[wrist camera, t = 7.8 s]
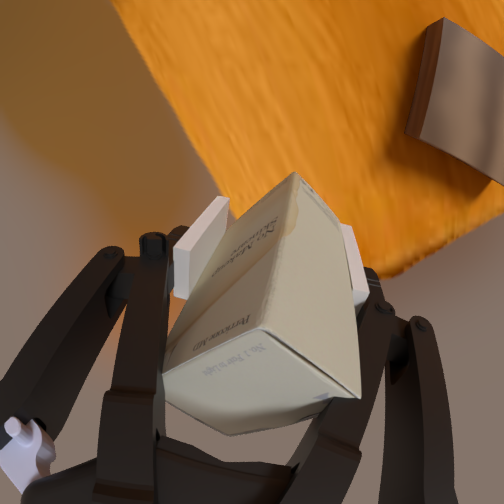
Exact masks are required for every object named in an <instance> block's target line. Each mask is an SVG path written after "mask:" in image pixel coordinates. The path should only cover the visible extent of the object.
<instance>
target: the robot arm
mask: <svg viewBox="0 0 504 504" xmlns="http://www.w3.org/2000/svg"><path fill="white" fill-rule="evenodd" d="M229 200H230V198H227V197H222V196H217V197H216V199H215V200H214V201H213V202H212V203H211V204H210V205H209V206H208V208H207V209H206V210H205V211H204V212H203V213H202V214H201V215H200V217H199V218H198V219H197V220H196V221H195V223H193V225H192V226H191V227H187V226H182V225H181V226H178V227H176V228H174V229H173V230H172V231H171V232H170V233H169V234H168V235H165V234H163V233H160V232H150V233H146V234H144V235H142V236H141V237H140V238H139V244H140V257H130V256H129V257H128V256H124V250H123V249H122V248H120V247H117V246H108V247H105V248H103V249H101V250H100V251H99V252H98V253H97V254H96V255H95V256H94V257H93V258H92V259H91V260H90V262H89V263H88V264H87V265H86V266H85V267H84V268H83V270H82V271H81V272H80V273H79V274H78V275H77V277H76V278H75V279H74V280H73V281H72V283H71V284H70V285H69V286H68V287H67V289H66V290H65V291H64V292H63V294H62V295H61V296H60V297H59V298H58V300H57V301H56V302H55V304H54V305H53V306H52V307H51V309H50V310H49V311H48V313H47V314H46V315H45V317H44V318H43V319H42V321H41V322H40V323H39V325H38V326H37V327H36V329H35V330H34V332H33V333H32V334H31V336H30V337H29V339H28V340H27V342H26V343H25V345H24V346H23V348H22V349H21V351H20V352H19V354H18V355H17V357H16V358H15V360H14V362H13V363H12V365H11V366H10V368H9V370H8V371H7V373H6V374H5V376H4V378H3V379H2V380H1V381H0V466H1V468H2V469H3V471H4V472H5V473H6V475H7V476H8V477H9V479H10V480H11V481H12V482H13V484H14V485H15V486H16V487H17V489H18V490H19V491H20V492H21V494H22V497H21V504H341V503H342V501H343V499H344V497H345V495H346V493H347V491H348V489H349V486H350V484H351V482H352V480H353V477H354V475H355V473H356V470H357V468H358V465H359V463H360V460H361V457H362V453H361V451H359V446H360V443H361V440H362V437H363V435H364V432H365V429H366V426H367V423H368V420H369V418H370V415H371V411H372V408H373V405H374V402H375V399H376V395H377V392H378V388H379V384H380V381H381V377H382V373H383V369H384V366H385V436H384V453H383V465H382V475H381V484H380V491H379V501H378V504H458V500H457V497H456V493H455V489H454V454H453V438H452V427H451V418H450V410H449V403H448V396H447V390H446V384H445V379H444V373H443V368H442V364H441V359H440V355H439V350H438V346H437V342H436V338H435V334H434V330H433V327H432V325H431V324H430V323H429V321H428V320H426V319H425V318H423V317H421V316H413V317H412V318H411V319H410V321H409V322H408V321H406V320H403V319H401V318H399V317H397V316H395V310H394V308H393V306H392V305H391V304H389V303H388V302H386V301H385V299H384V296H383V292H382V289H381V287H380V286H381V285H380V282H379V279H378V276H377V274H376V273H375V271H374V270H373V269H371V268H367V267H363V264H362V261H361V257H360V254H359V250H358V246H357V243H356V240H355V236H354V233H353V230H352V226H349V225H345V224H341V223H340V226H341V231H342V236H343V241H344V247H345V252H346V258H347V263H348V269H349V275H350V281H351V288H352V295H353V300H354V308H355V316H356V325H357V334H358V346H359V359H360V375H361V399H359V398H345V397H336V396H334V397H333V399H332V400H331V401H330V402H329V404H328V405H327V406H326V407H325V408H324V410H323V411H322V412H321V413H320V414H319V415H318V417H315V418H313V420H312V422H311V424H310V425H309V427H308V429H307V431H306V433H305V435H304V437H303V438H302V440H301V442H300V444H299V446H298V447H297V449H296V451H295V452H294V454H293V456H292V457H291V459H290V460H289V462H288V463H287V464H286V465H285V466H284V465H277V464H271V463H264V462H223V461H221V460H218V459H217V458H215V457H213V456H211V455H209V454H207V453H205V452H203V451H202V450H200V449H198V448H196V447H194V446H193V445H190V444H186V443H183V442H180V441H177V440H174V439H171V438H169V437H166V429H165V389H164V383H163V376H162V370H163V362H164V356H165V349H166V342H167V333H168V332H167V331H168V318H169V305H170V292H171V290H172V289H173V287H174V296H175V297H178V298H182V299H185V300H188V298H189V296H190V294H191V292H192V291H193V289H194V287H195V285H196V283H197V281H198V280H199V278H200V276H201V274H202V272H203V271H204V269H205V267H206V265H207V263H208V262H209V260H210V258H211V256H212V255H213V253H214V251H215V249H216V248H217V246H218V244H219V242H220V241H221V239H222V237H223V236H224V234H225V232H226V223H227V216H228V208H229ZM126 304H127V306H126ZM125 306H126V311H125V315H124V320H123V324H122V329H121V333H120V338H119V343H118V349H117V354H116V360H115V365H114V372H113V378H112V384H111V388H110V390H108V391H106V392H105V394H104V397H103V403H102V410H101V418H100V427H99V438H98V450H97V457H96V458H94V459H92V460H89V461H87V462H84V463H82V464H79V465H77V466H74V467H71V468H69V469H66V470H64V471H61V472H58V473H55V474H52V475H51V474H50V463H51V462H53V461H54V460H55V459H56V453H55V446H54V443H53V442H54V440H55V439H56V438H57V436H58V435H59V433H60V431H61V430H62V428H63V426H64V424H65V422H66V420H67V418H68V416H69V414H70V412H71V409H72V407H73V405H74V403H75V401H76V399H77V396H78V394H79V392H80V390H81V388H82V386H83V384H84V382H85V380H86V378H87V376H88V374H89V372H90V370H91V368H92V366H93V364H94V362H95V360H96V358H97V356H98V355H99V353H100V351H101V349H102V347H103V345H104V343H105V341H106V340H107V338H108V336H109V334H110V332H111V330H112V329H113V327H114V325H115V323H116V322H117V320H118V318H119V316H120V315H121V313H122V311H123V309H124V308H125Z"/></svg>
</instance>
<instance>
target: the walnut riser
mask: <svg viewBox="0 0 504 504" xmlns="http://www.w3.org/2000/svg"><path fill="white" fill-rule="evenodd" d="M404 133H405V134H407V135H409V136H411V137H414V138H416V139H418V140H420V141H422V142H425V143H427V144H429V145H431V146H433V147H435V148H437V149H439V150H441V151H443V152H445V153H447V154H449V155H451V156H453V157H454V158H456V159H458V160H460V161H462V162H464V163H465V164H467V165H469V166H471V167H472V168H474V169H476V170H477V171H479V172H481V173H482V174H484V175H486V176H487V177H489V178H490V179H492V180H494V181H496V182H497V183H499V184H501V185H502V186H504V57H503V56H502V55H500V54H499V53H498V52H497V51H495V50H494V49H493V48H491V47H490V46H489V45H487V44H486V43H484V42H483V41H482V40H480V39H479V38H477V37H476V36H474V35H473V34H471V33H470V32H468V31H467V30H465V29H463V28H462V27H460V26H459V25H457V24H455V23H454V22H452V21H450V20H448V19H447V18H445V17H443V18H441V19H440V20H438V21H436V22H434V23H433V24H431V25H429V26H427V32H426V39H425V45H424V51H423V56H422V62H421V67H420V72H419V76H418V81H417V85H416V90H415V94H414V98H413V102H412V106H411V110H410V114H409V118H408V121H407V125H406V128H405V132H404Z"/></svg>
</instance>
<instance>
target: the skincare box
mask: <svg viewBox="0 0 504 504" xmlns="http://www.w3.org/2000/svg"><path fill="white" fill-rule="evenodd" d="M162 376H163V383H164V389H165V401H166V402H167V403H169V404H170V405H172V406H173V407H175V408H177V409H179V410H180V411H182V412H183V413H185V414H187V415H189V416H190V417H192V418H194V419H195V420H197V421H199V422H201V423H203V424H205V425H207V426H208V427H210V428H212V429H214V430H216V431H218V432H220V433H222V434H224V435H226V436H230V437H231V436H237V435H242V434H248V433H253V432H259V431H264V430H269V429H275V428H279V427H284V426H288V425H292V424H295V423H298V422H301V421H305V420H308V419H311V418H315V417H318V415H319V414H320V413H321V412H322V411H323V410H324V408H325V407H326V406H327V405H328V404H329V402H330V401H331V400H332V399H333V397H334V396H336V397H345V398H359V399H361V375H360V359H359V346H358V334H357V325H356V316H355V308H354V300H353V295H352V288H351V281H350V275H349V269H348V263H347V258H346V252H345V247H344V241H343V236H342V231H341V226H340V221H339V219H338V218H337V217H336V215H335V214H334V213H333V212H332V211H331V209H330V208H329V207H328V206H327V205H326V203H325V202H324V201H323V200H322V199H321V198H320V197H319V195H318V194H317V193H316V192H315V191H314V190H313V189H312V188H311V187H310V186H309V184H308V183H307V182H306V181H305V180H304V179H303V178H302V177H301V176H300V175H299V174H298V173H296V172H292V173H291V174H290V175H289V176H288V177H287V178H285V179H284V180H283V181H282V182H280V183H279V184H278V185H277V186H276V187H274V188H273V189H272V190H271V191H270V192H268V193H267V194H266V195H265V196H264V197H263V198H261V199H260V200H259V201H258V202H257V203H256V204H254V205H253V206H252V207H251V208H250V209H249V210H248V211H247V212H246V213H244V214H243V215H242V216H241V217H240V218H239V219H238V220H237V221H236V222H235V223H233V224H232V225H231V226H230V227H229V228H228V229H227V231H226V232H225V234H224V236H223V237H222V239H221V241H220V242H219V244H218V246H217V248H216V249H215V251H214V253H213V255H212V256H211V258H210V260H209V262H208V263H207V265H206V267H205V269H204V271H203V272H202V274H201V276H200V278H199V280H198V281H197V283H196V285H195V287H194V289H193V291H192V292H191V294H190V296H189V298H188V300H187V302H186V304H185V305H184V307H183V309H182V311H181V313H180V315H179V317H178V319H177V320H176V322H175V324H174V327H173V328H172V330H171V332H170V334H169V336H168V337H167V342H166V349H165V356H164V362H163V370H162Z"/></svg>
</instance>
